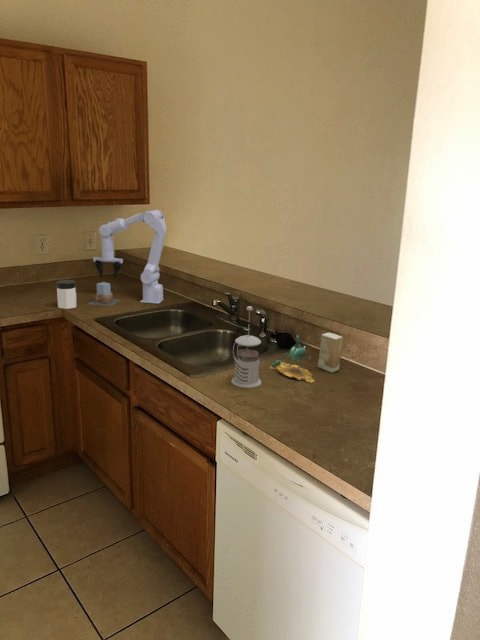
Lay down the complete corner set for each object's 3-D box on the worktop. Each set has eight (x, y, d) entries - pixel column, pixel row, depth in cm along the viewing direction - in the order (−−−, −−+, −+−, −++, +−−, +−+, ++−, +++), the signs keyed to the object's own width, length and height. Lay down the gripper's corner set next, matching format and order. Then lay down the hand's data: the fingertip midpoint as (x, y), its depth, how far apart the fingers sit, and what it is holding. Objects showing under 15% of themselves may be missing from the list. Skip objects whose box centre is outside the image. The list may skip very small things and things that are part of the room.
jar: (76, 309, 239) (75, 283, 236) (57, 309, 237) (55, 283, 234) (77, 304, 248) (75, 279, 244) (58, 304, 246) (57, 279, 242)
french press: (242, 390, 161) (246, 312, 154) (221, 377, 170) (224, 303, 163) (267, 383, 167) (272, 307, 160) (246, 371, 176) (249, 299, 169)
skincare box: (317, 367, 182) (320, 334, 178) (325, 364, 185) (328, 331, 181) (332, 373, 178) (335, 338, 174) (340, 370, 181) (343, 336, 177)
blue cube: (110, 293, 252) (110, 283, 250) (103, 295, 248) (103, 285, 246) (103, 292, 254) (103, 282, 252) (96, 294, 250) (96, 283, 248)
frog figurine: (284, 362, 186) (290, 324, 180) (322, 384, 173) (330, 344, 168) (264, 368, 179) (270, 328, 174) (302, 391, 167) (310, 349, 162)
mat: (120, 300, 257) (120, 299, 257) (111, 306, 246) (111, 305, 246) (97, 298, 259) (97, 297, 258) (87, 304, 247) (87, 304, 247)
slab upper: (112, 296, 254) (112, 292, 253) (107, 299, 248) (107, 295, 248) (100, 295, 255) (100, 291, 254) (95, 298, 249) (95, 294, 248)
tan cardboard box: (112, 300, 254) (112, 296, 254) (108, 303, 249) (107, 299, 248) (101, 299, 255) (100, 295, 255) (95, 302, 250) (95, 298, 249)
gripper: (124, 248, 259) (125, 275, 263) (96, 247, 261) (97, 273, 265) (119, 251, 252) (120, 278, 256) (91, 249, 254) (92, 276, 258)
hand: (108, 276), depth 260 cm, fingers open, 7 cm apart
